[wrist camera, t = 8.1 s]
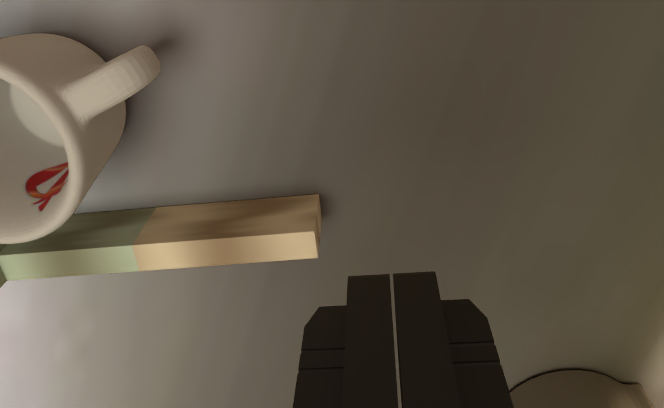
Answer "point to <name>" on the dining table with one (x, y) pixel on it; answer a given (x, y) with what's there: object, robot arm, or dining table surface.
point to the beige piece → (170, 238)
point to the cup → (58, 125)
